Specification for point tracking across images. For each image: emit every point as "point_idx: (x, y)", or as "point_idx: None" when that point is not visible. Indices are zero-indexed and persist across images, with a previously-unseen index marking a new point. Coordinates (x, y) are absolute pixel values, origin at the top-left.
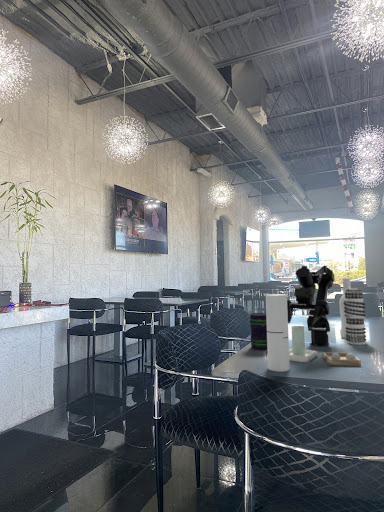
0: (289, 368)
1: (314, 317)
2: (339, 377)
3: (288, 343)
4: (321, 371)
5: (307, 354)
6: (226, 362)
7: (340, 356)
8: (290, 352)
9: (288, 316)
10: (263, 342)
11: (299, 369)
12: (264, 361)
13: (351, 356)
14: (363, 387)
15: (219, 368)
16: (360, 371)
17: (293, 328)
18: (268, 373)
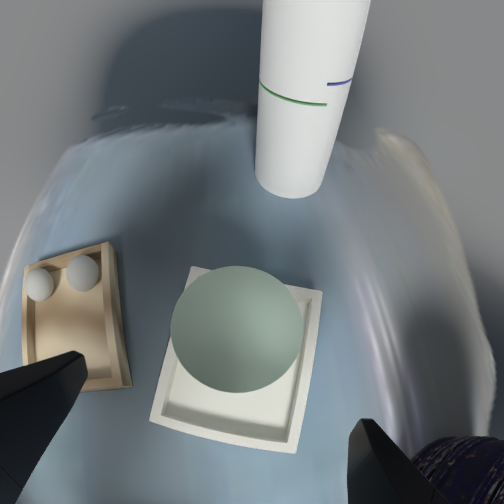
0: (255, 169)
1: (15, 370)
2: (127, 149)
3: (258, 99)
4: (158, 180)
5: (198, 400)
6: (445, 206)
7: None
8: (292, 408)
9: (400, 468)
10: (447, 450)
11: (224, 180)
12: (365, 247)
13: (36, 268)
14: (106, 117)
15: (420, 154)
16: (58, 214)
17: (274, 283)
18: None
